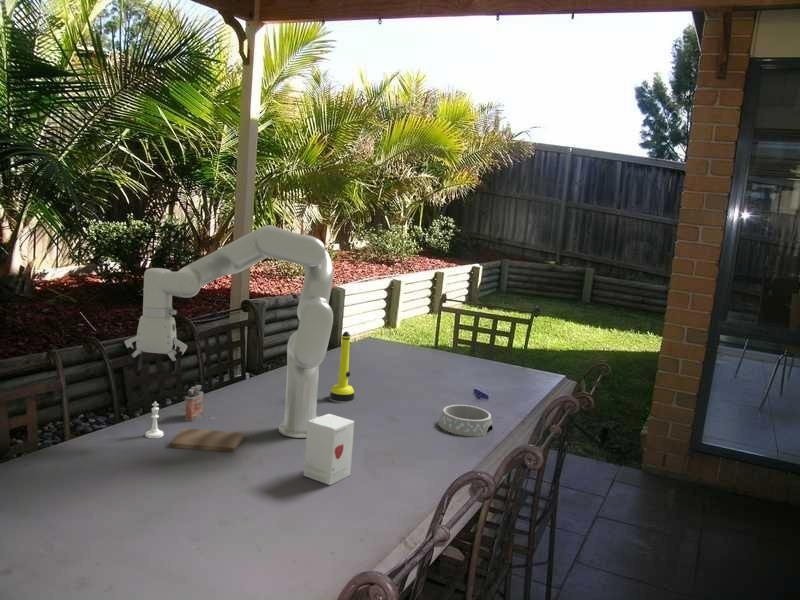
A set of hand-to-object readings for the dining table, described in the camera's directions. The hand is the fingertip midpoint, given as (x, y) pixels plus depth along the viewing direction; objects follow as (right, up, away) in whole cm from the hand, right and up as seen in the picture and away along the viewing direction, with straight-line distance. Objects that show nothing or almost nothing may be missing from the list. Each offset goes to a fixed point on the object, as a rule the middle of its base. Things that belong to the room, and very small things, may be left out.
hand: (154, 371), depth 183 cm
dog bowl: (+91, -22, +32) cm, 99 cm away
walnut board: (+15, -20, +1) cm, 25 cm away
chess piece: (-1, -19, +3) cm, 19 cm away
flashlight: (+48, -16, +51) cm, 72 cm away
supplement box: (+51, -26, -15) cm, 59 cm away
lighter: (+5, -17, +20) cm, 26 cm away
